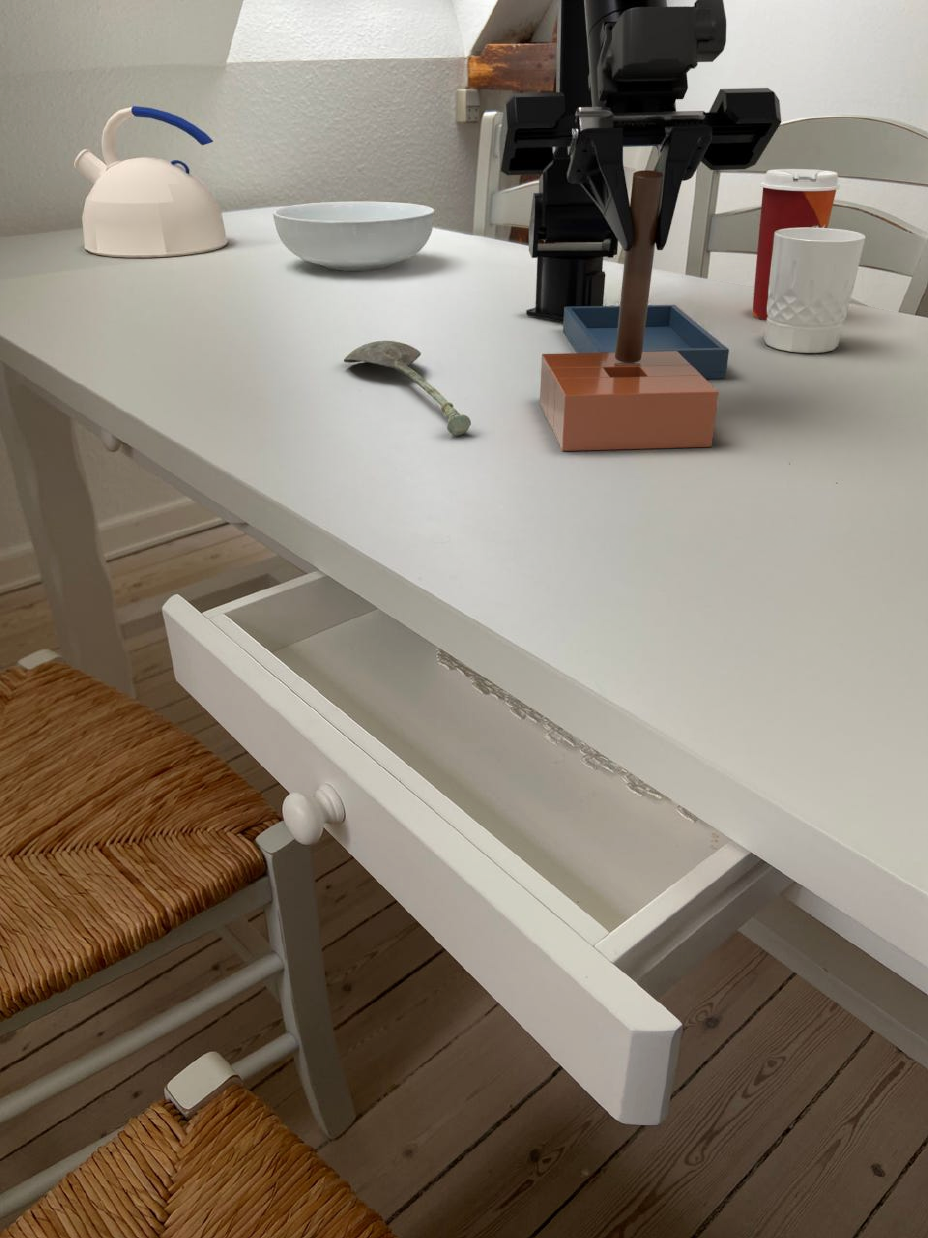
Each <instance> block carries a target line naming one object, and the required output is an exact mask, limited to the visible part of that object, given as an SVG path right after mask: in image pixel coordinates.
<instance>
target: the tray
mask: <svg viewBox="0 0 928 1238" xmlns="http://www.w3.org/2000/svg"><path fill="white" fill-rule="evenodd" d="M619 310H620V305H603V306H574V307H564V322H562V323H563V324H562V325H563V326H562V333H563V334H564V336H565V337H566V338H567V341H568V342H569V343H570V344H571V346H572V347H573V349H574V350H575V351H576V352H575V353H613V352H615V349H616V339H617V329H618V319H619ZM660 351H677V352H678V353H679V354H680V355H681V356H682V357H683V358H684V359H685V360H687V361H688V362H689V363H690V364H691V365H692V366H693V367H694V368H695V369H696V370H697V371H698V372H699V373H700V374H701V375H702V376H703V377H704V378H705V379H706V380H713V379H714V380H716V379H718V380H719V379H720V380H721V379H726V377H727V376H726V375H727V367H728V359H729V353H730V349H729V348H728V347H727V346H726V345H724V344H723V342H721V341H720V340H719V339H717V338H716V337H715V336H714V335H712V334H711V333H710V332H709V331H708V330H706V329H705V328H704V327H703V326H701V325H700V324H699V323H698V322H696V321H695V320H694V319H693V318H692V317H690V316H689V315H688V314H687V313H686V312H684V311H683V310H682V309H680V308H679V307H678V305H676V304H648V307H647V316H646V324H645V332H644V341H643V349H642V352H660Z"/></svg>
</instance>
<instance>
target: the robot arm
mask: <svg viewBox="0 0 928 1238" xmlns="http://www.w3.org/2000/svg"><path fill="white" fill-rule="evenodd" d="M556 27H557V29H556V30H557V31H556V76H555V78H556V80H555V91H553V92H551V91H547V92H542V91H541V92H512V93H511V95H510V96H509V97H508V98H507V99H506V100H505V102H504V104H503V111H502V118H501V125H500V132H499V138H498V141H499V143H498V145H499V146H498V152H499V153H498V154H499V167H500V172H501V173H503V174H504V175H506V176H535V175H536V176H540V177H539V179H538V192H533V194H532V199H531V200H532V201H531V208H530V209H531V210H530V211H531V212H530V216H529V227H528V253H529V255H530V258H531V259H536V279H535V280H536V281H535V283H536V284H535V307H532V308H529V309H528V308H527V309H526V310H525V314H526V316H530V317H536V318H541V319H546V320H552V321H556V322H561V323H564V307H574V306H604V302H605V301H604V300H605V287H606V271H605V270H604V269H603V267H604V258H609V259H612V258H614V256H617V255H618V249H619V248H618V247H619V244H620V246H621V248H622V250H623V251H624V252H625V251H630V250H631V248H632V246H633V223H632V216H631V209H630V198H629V192H628V185H627V179H626V174H625V167H624V148H629V147H630V148H631V147H632V148H633V147H634V148H635V147H637V148H638V147H656V150H657V155H658V159H657V162H656V164H655V167H654V169H653V171H657V172H660V173H662V174H663V183H662V191H661V200H660V208H659V216H658V224H657V233H656V241H655V248H656V250H657V251H663V250H664V249H665V246H666V245H667V241H668V237H669V233H670V230H671V225H672V222H673V218H674V214H675V210H676V206H677V201H678V198H679V194H680V190H681V186H682V183H683V182H685V181H689V180H691V179H692V178H693V177H694V175H695V173H696V172H697V169H698V167H699V166H700V163H702V164H703V165H704V166H706V167H707V168H708V169H709V170H710V171H735V170H739V171H740V170H748V169H750V168H751V167H754V166H756V165H757V163H758V161H759V160H760V158H761V156H762V155H763V153H764V151H765V150H766V148H767V146H768V145H769V144H770V141H771V140H772V138H773V137H774V135H775V133H776V132H777V131H778V130H779V127H780V125H781V124H782V112H781V103H780V99H779V97H778V96H777V94H776V92H775V91H774V90H772V89H770V88H769V87H752V88H751V87H750V88H749V87H748V88H746V87H744V88H741V87H740V88H720V89H719V91H718V92H717V95H716V96H715V98H714V101H713V103H712V105H711V107H710V109H709V111H707V112H705V111H704V110H680V111H677V105H676V103H677V100H684V98H685V96H686V93H687V91H688V89H689V84H688V73H689V72H690V70H691V69H692V70H693V69H696V68H697V66H698V63H713V62H714V61H715V60H716V59H717V58H718V57H719V56H720V55H721V54H722V53H723V52H724V50H725V47H726V43H727V17H726V10H725V3H724V0H695V2H694V4H693V6H689V5H688V6H686V5H685V6H684V5H683V6H668V1H667V0H557V24H556ZM539 241H543V243H539Z"/></svg>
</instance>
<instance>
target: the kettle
mask: <svg viewBox="0 0 928 1238" xmlns="http://www.w3.org/2000/svg"><path fill="white" fill-rule="evenodd" d="M135 117H136V118H146V119H147V118H148V119H153V120H156V121H160V122H163V123H166V124H169V125H170V126H173V127H176V128H177V129H179V130H181V131H182V132H185V133H186V134H188V135H189V136H190V137H191V138H193V139H195V140H196V141H197V142H198V143H199V145H201V146H205V145H209V144H212V143H213V142H214V140H213V138H211V137H210V136H209V135H208V134H207V133H206V132H205V131H203V130H202V129H201V128H200V127H198V126H197V125H196V124H194V123H191V122H190V121H188V120H187V119H185V118H183V117H181V116H178V115H175V114H173V113H171V112H168V111H164V110H160V109H157V108H153V107H147V106H137V105H133V106H130V107H127V108H122V109H119V110H117V111H116V112H115V113H114V114H113V115H112V116H111V117H110V118H108V119H107V122H106V124H105V126H104V128H103V130H102V135H101V142H100V143H101V151H102V157H103V159H104V161H105V163H104V162H103V161H102V160H101V159H99V158H98V157H97V156H96V155H95V154H94V153H92V152H91V149H88V148H85V149H82V150H80V152H79V153H78V154H77V156H76V157H75V159H74V161H73V166H74V169H75V170H77V171H79V173H80V174H82V176H84V178H86V179H87V180H88V181H89V182H91V184H92V185H93V186H92V187H91V189H90V191H89V193H88V194H87V196H86V198H85V203H84V207H83V211H82V215H81V216H82V217H81V218H82V219H81V220H82V229H83V230H82V231H83V242H84V247H83V248H84V249H85V250H86V251H88V253H90V254H93V255H97V256H104V257H111V258H127V259H146V258H147V259H148V258H151V259H152V258H169V257H171V258H172V257H180V256H181V257H182V256H189V255H198V254H204V253H207V252H213V251H216V250H219V249H221V248H224V247H225V246H226V245H227V244H228V242H229V239H228V238H227V234H226V228H225V224H224V219H223V213H222V210H221V208H220V206H219V204H218V202H217V200H216V198H215V196H214V195H213V193H212V191H211V190H210V189H209V188H208V187H207V186H206V184H205V183H204V182H203V181H202V180H201V179H200V178H199V177H198V176H197V175H195V174H194V173H192V172H191V171H190V168H189V166H188V165H187V164H186V163H185V162H183V161H182V160H178V159H174V160H171V161H170V160H167V159H165V158H161V157H151V156H150V157H149V156H148V157H147V156H142V157H135V158H127V159H125V160H123V159H120V158H119V156H118V154H117V150H116V144H115V143H116V133H117V131H118V130H119V127H120V125H121V124H122V123H124V122H125V121H126V120H127V119H130V118H135Z"/></svg>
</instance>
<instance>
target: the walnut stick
mask: <svg viewBox="0 0 928 1238" xmlns="http://www.w3.org/2000/svg"><path fill="white" fill-rule="evenodd" d="M662 183H663V174H662V173H660V172H657V171H654V170H650V169H648V170H647V169H646V170H645V169H643V170H637V171H634V172H633V174H632V184H631V193H630V201H629V203H630V209H631V216H632V223H633V246H632V248H631V250H630V251H624V261H623V272H622V280H621V281H622V282H621V291H620V301H619V306H620V310H619V319H618V329H617V339H616V349H615V358H616V359H617V360H618V361H621V362H625V363H634V362H638V361H640V360H641V357H642V349H643V341H644V332H645V324H646V316H647V307H648V305H649V299H650V289H651V282H652V273H653V265H654V256H655V248H656V243H655V241H656V233H657V224H658V216H659V208H660V200H661V191H662Z"/></svg>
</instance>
